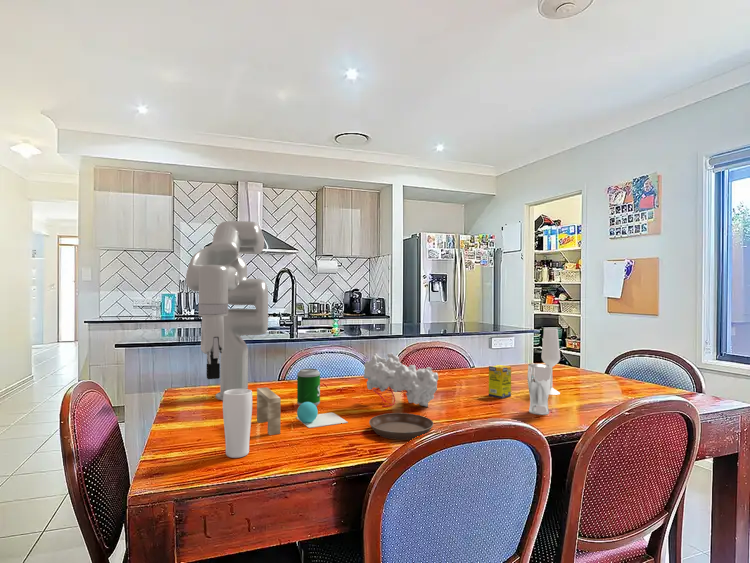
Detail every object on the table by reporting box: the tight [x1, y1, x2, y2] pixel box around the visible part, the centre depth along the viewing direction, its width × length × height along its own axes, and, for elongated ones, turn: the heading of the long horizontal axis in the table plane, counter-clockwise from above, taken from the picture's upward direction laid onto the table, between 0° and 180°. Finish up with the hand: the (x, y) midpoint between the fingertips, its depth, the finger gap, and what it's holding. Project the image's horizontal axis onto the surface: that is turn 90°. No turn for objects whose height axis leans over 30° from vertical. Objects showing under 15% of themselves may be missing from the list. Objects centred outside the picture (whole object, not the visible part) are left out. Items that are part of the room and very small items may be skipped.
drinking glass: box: [222, 389, 253, 459], centre depth 115 cm, size 7×7×15 cm
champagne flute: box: [541, 327, 561, 396], centre depth 181 cm, size 7×7×24 cm
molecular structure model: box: [362, 352, 439, 408], centre depth 161 cm, size 20×18×25 cm
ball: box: [296, 402, 319, 423], centre depth 142 cm, size 6×6×6 cm
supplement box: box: [488, 364, 512, 399], centre depth 176 cm, size 6×6×11 cm
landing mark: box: [295, 412, 349, 429], centre depth 144 cm, size 12×12×1 cm
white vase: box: [527, 363, 551, 416], centre depth 153 cm, size 7×7×15 cm
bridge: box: [256, 386, 282, 436], centre depth 137 cm, size 3×15×10 cm, turn 26°
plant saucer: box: [368, 412, 434, 441], centre depth 133 cm, size 18×18×3 cm
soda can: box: [296, 368, 321, 407], centre depth 161 cm, size 8×8×12 cm
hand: (213, 378), depth 131 cm, fingers closed
